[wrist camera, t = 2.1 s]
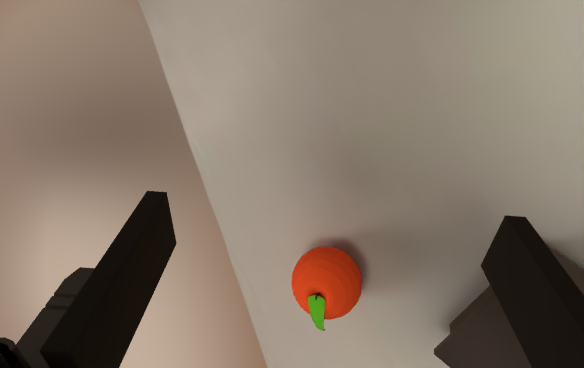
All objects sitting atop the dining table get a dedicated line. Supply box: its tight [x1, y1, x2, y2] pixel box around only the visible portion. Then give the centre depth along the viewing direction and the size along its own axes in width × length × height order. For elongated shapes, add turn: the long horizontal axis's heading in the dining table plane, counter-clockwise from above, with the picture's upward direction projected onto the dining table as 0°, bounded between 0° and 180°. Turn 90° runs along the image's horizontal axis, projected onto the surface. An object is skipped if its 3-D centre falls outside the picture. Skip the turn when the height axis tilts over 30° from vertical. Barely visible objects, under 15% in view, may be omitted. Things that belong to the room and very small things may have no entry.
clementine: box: [292, 247, 362, 331], centre depth 35 cm, size 8×7×7 cm
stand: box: [434, 244, 584, 368], centre depth 30 cm, size 13×13×5 cm
